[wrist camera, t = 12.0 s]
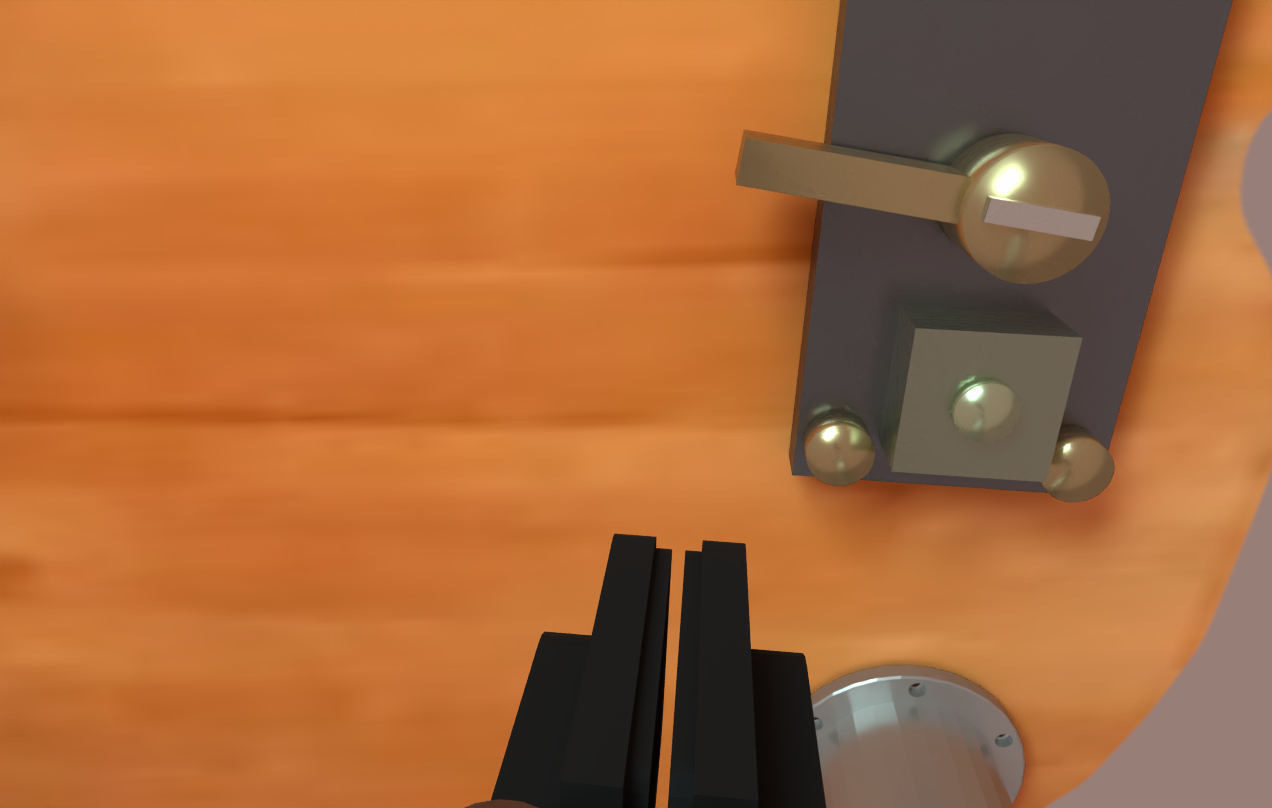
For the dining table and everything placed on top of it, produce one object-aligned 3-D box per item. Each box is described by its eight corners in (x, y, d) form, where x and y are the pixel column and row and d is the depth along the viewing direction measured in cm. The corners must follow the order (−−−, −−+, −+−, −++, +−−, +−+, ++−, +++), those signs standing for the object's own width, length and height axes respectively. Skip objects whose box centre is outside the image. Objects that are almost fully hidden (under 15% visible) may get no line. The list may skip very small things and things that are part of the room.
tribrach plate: (1077, 474, 39) (1132, 540, 34) (788, 454, 40) (799, 516, 34) (1224, -79, 30) (1327, -105, 25) (850, -88, 31) (876, -114, 26)
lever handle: (1084, 144, 31) (1139, 160, 27) (1040, 266, 33) (1086, 298, 29) (752, 87, 31) (756, 93, 27) (727, 210, 33) (728, 234, 29)
